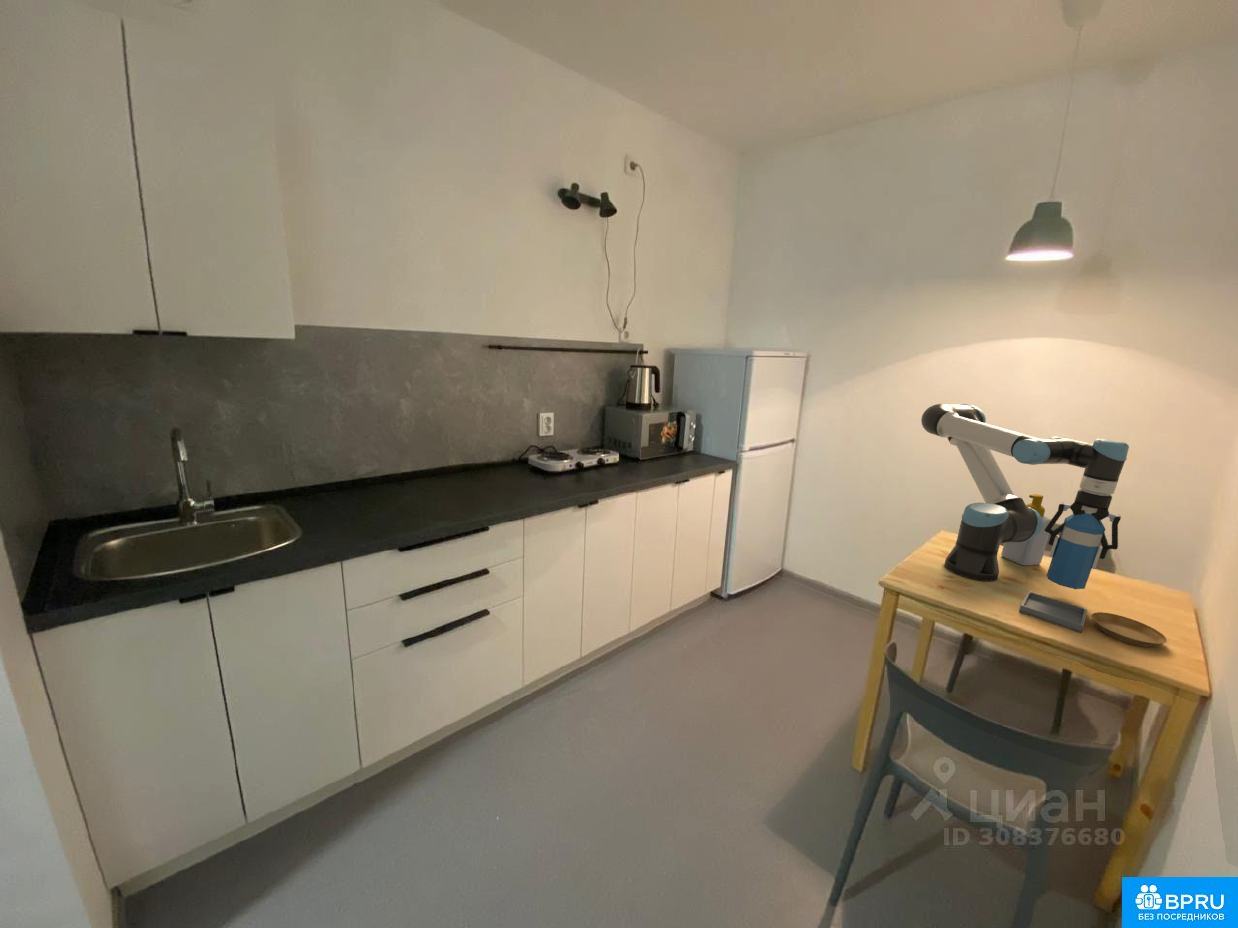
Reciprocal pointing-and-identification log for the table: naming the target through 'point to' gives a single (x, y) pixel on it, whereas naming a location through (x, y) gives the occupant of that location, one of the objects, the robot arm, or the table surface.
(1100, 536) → the water bottle
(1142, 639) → the plant saucer
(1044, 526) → the soap bottle
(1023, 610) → the tray
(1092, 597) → the table surface
